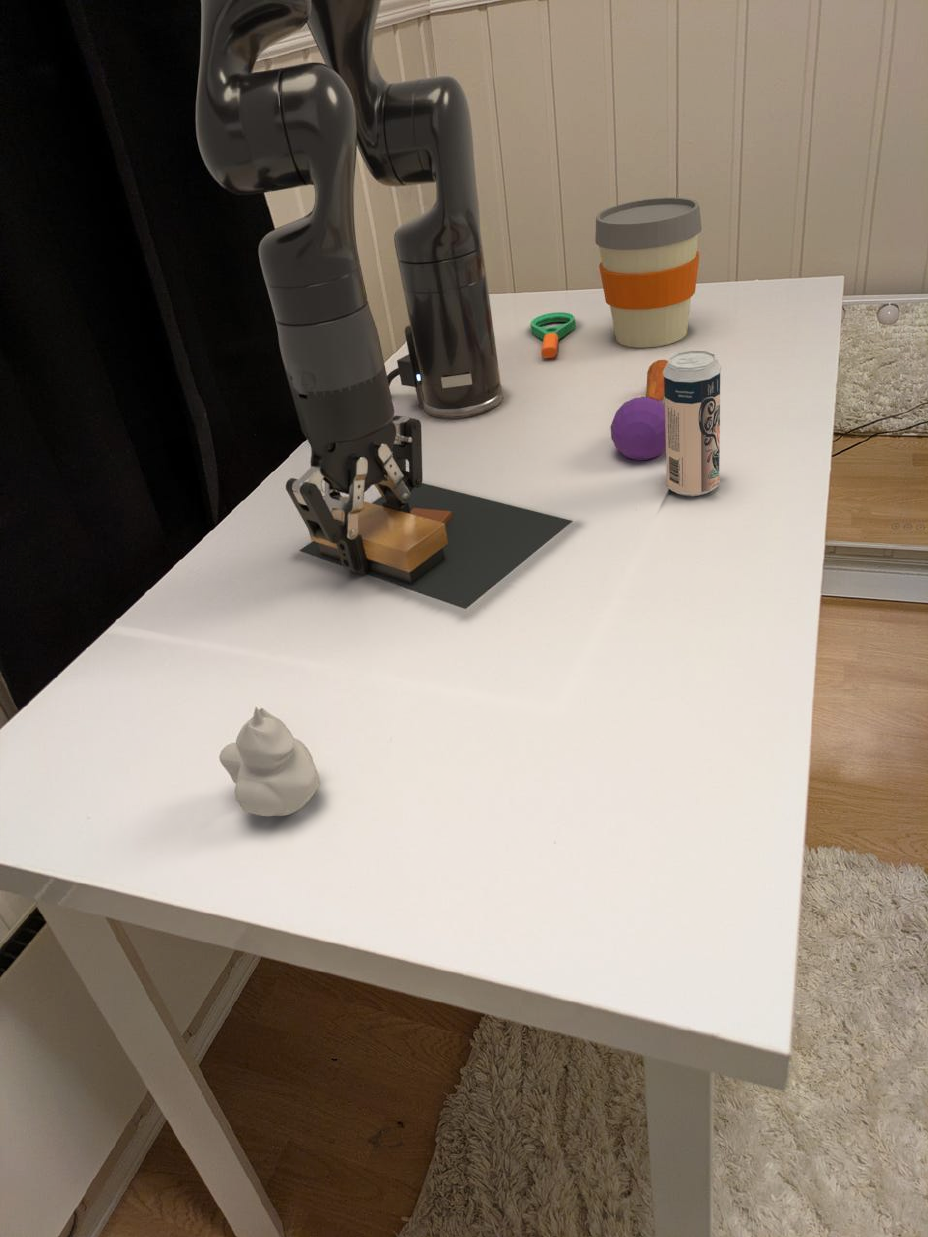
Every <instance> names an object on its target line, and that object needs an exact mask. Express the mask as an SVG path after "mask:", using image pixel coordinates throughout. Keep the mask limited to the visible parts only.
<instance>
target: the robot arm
mask: <svg viewBox="0 0 928 1237" xmlns="http://www.w3.org/2000/svg"><path fill="white" fill-rule="evenodd" d="M381 1H382V0H200V4H201V5H200V6H201V7H200V8H201V22H200V25H201V26H200V52H199V53H200V54H199V66H198V67H199V68H198V78H197V88H196V100H195V132H196V139H197V145H198V149H199V153H200V155H201V156H200V157H201V158H202V161H203V163H204V166H205V167H206V169H207V171H208V172H209V174H210V175H211V177H212V178H213V179H214V180H215V182H216V183H217V184H218V185H219V186H220V187H221V188H223V189H224V190H226V191H227V192H228V193H231V194H233V195H237V196H253V195H259V194H264V193H265V194H266V193H271V192H277V191H283V190H288V189H295V188H301V187H307V186H313V188H314V197H315V198H314V204H313V207H312V210H311V211H310V212H309V213H307V214H306V215H304V216H303V217H300V218H298V219H296V220H293V221H291V222H288V223H286V224H284V225H281V226H279V227H276V228H274V229H272V230H271V231H269V232H267V233H266V234H265V235H264V236H263V237H262V238H261V240H260V242H259V244H258V250H257V252H258V257H259V259H258V260H259V264H260V268H261V272H262V276H263V280H264V283H265V287H266V291H267V295H268V298H269V302H270V306H271V310H272V312H273V317H274V319H275V326H276V330H277V338H278V345H279V351H280V355H281V359H282V362H283V367H284V370H285V374H286V378H287V382H288V385H289V388H290V393H291V396H292V400H293V403H294V407H295V410H296V411H295V412H296V414H297V418H298V422H299V425H300V430H301V432H302V434H303V435H304V437H305V439H306V440H307V442H308V443H309V446H310V450H311V452H310V453H311V455H310V468H309V469H308V470H307V471H305V473H304V474H303V475H302V476H301V477H299V478H295V477H290V478H289V479H288V480H287V481H286V483H285V490H286V492H287V493H288V496H289V498H290V500H291V501H292V503H293V505H294V506H295V508H296V510H297V512H298V514H299V515H300V517H301V519H302V521H303V522H304V524H305V527H306V528H307V530H308V532H309V531H310V533H311V535H312V536H313V537H316V538H320V539H323V540H327V541H329V542H331V543H334V544H336V545H337V549H338V552H339V556H340V560H341V564H342V565H343V566H342V567H343V568H344V569H346V570H348V571H349V572H352V573H355V574H358V575H360V576H363V575H366V574H365V573H366V572H367V571H369V564H368V560H367V558H366V554H365V550H364V546H363V542H362V536H361V535H360V534H358V528H359V512H360V511H362V510H363V508H364V501H365V493H366V492H367V491H368V490H369V489H370V488H371V487H372V486H375V489H377V491H378V493H379V495H380V497H383V498H385V499H386V501H384V502H383V503H382V504H383V507H387V508H390V509H394V510H398V511H401V512H405V513H409V514H411V513H410V509H409V504H408V501H409V500H410V492H411V491H412V490H413V488H414V487H415V488H418V487H420V486H421V484H422V483H423V478H424V477H423V449H422V448H423V444H422V443H423V441H422V439H423V438H422V437H423V436H422V422H421V420H420V419H418V418H414V417H413V418H412V417H406V416H402V415H395V408H394V403H393V397H392V393H391V388H390V386H391V384H392V382H393V380H394V379H395V378H396V377H398V376H399V378H400V379H399V380H400V384H401V386H405V387H412V388H415V393H416V399H417V403H418V404H417V405H418V407H419V408H423V409H424V411H425V412H426V413H427V414H429V415H430V416H433V417H436V418H444V419H457V418H458V419H459V418H466V417H471V416H476V415H479V414H482V413H485V412H487V411H490V410H491V409H493V408H495V407H496V406H498V405H499V404H500V403H501V402H502V400H503V398H504V393H503V385H502V384H501V376H500V368H499V360H498V351H497V344H496V337H495V330H494V322H493V315H492V308H491V306H492V305H491V300H490V291H489V285H488V278H487V272H486V271H487V270H486V262H485V255H484V248H483V247H484V246H483V240H482V234H481V219H480V218H481V216H480V203H479V195H478V186H477V174H476V165H475V152H474V151H475V149H474V136H473V128H472V118H471V113H470V112H471V111H470V106H469V103H468V99H467V97H466V93H465V91H464V89H463V86H462V85H461V84H460V82H459V81H458V80H457V79H456V78H454V76H453V77H452V76H450V75H441V76H440V75H439V76H431V77H425V78H418V79H412V80H406V81H399V82H393V83H392V82H391V83H390V82H387V81H386V80H385V78H384V77H383V75H382V74H381V72H380V69H379V67H378V63H377V61H376V58H375V52H374V38H375V30H376V25H377V24H376V23H377V19H378V15H379V10H380V6H381ZM305 25H307V27H308V29H309V31H310V34H311V35H312V38H313V40H314V42H315V44H316V47H317V49H318V51H319V54H320V55H321V57H322V60H323V62H324V63H323V62H314V61H313V62H303V63H299V64H298V63H297V64H293V65H287V66H284V67H278V68H273V69H266V70H260V71H255V72H254V69H255V66H256V63H257V61H258V59H259V57H260V55H261V54H262V53H263V52H265V51H266V50H267V49H268V48H270V47H272V46H273V45H276V44H277V43H279V42H282V41H283V40H285V39H286V38H289V37H290V36H292V35H294V34H296V33H297V32H299V31H300V30H301V29H302V28H303V27H304V26H305ZM357 150H358V151H359V154H360V156H361V158H362V161H363V162H364V164H365V166H366V168H367V170H368V172H369V174H370V175H371V176H372V177H373V178H374V179H375V181H377V182H378V183H379V184H381V185H383V186H386V187H393V188H395V187H398V188H399V187H407V186H408V187H409V186H418V185H427V184H435V188H436V189H435V190H436V199H435V202H434V204H433V205H432V206H430V208H428V210H426V211H425V212H423V213H421V214H419V215H418V216H415V217H414V218H412V219H410V220H408V221H407V222H404V223H403V224H401V225H400V226H399V227H398V228H397V229H396V230H395V232H394V236H393V241H394V248H395V254H396V258H397V264H398V269H399V274H400V280H401V285H402V290H403V295H404V300H405V305H406V311H407V316H408V323H409V324H407V325H406V326H405V327H404V335H405V336H404V337H405V341H406V346H407V352H408V354H406V355H405V356H403V357H400V358H398V359H397V360H396V363H397V364H396V365H397V368H395V369H393V370H392V371H390V372H389V373H387V370H386V365H385V359H384V355H383V350H382V345H381V341H380V336H379V331H378V328H377V324H376V323H375V319H374V316H373V314H372V311H371V308H370V305H369V301H368V294H367V288H366V285H365V280H364V276H363V270H362V266H361V262H360V256H359V250H358V245H357V244H358V243H357V237H356V224H355V176H356V163H357ZM407 462H408V471H407ZM323 481H324V489H323ZM341 493H342V494H346V495H348V497H349V498H345V496H343V495H342V494H341ZM343 511H344V514H345V516H344V522H343V521H342V515H343Z"/></svg>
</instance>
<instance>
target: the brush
mask: <svg viewBox="0 0 928 1237" xmlns="http://www.w3.org/2000/svg"><path fill="white" fill-rule="evenodd" d="M344 497H345V498H349V496H346V495H344ZM344 516H345V514H344V511H343V515H342V521H343V522H344ZM308 533H309V537H310V540H311V542H313V541H315V542H318V545H319V549H320V552H321V554H323V555H326V556H328V557H331V558H334V559H337V560H340V556H339V552H338V549H337V545H336V544H334V543H331V542H329V541H327V540H323V539H320V538H316V537H313V536H312V535H311V533H310V531H309V530H308ZM358 534H360V535H361V536H362V542H363V546H364V550H365V554H366V558H367V560H368V564H369V570H370V571H373V572H376V573H379V574H382V575H385V576H388V577H391V578H394V579H397V580H400V581H403V582H406V583H409V584H413V583H415V582H416V581H417V580H418V579H420V578H421V577H422V576H424V575H425V574H426V573H428V572H429V571H430V570H431V569H433V568H434V567H435V566H437V565H438V564H439V563H441V562H442V561H443V560H445V555H444V550H443V547H444V546H446V545H447V544H448V539H447V534H446V529H445V524H444V523H441V522H438V521H434V520H430V519H427V518H423V517H420V516H416V515H412V514H409V513H405V512H401V511H398V510H394V509H390V508H387V507H383V506H380V505H376V504H372V502H368V501H365V500H364V508H363V510H362V511H360V512H359V528H358ZM340 561H341V560H340Z"/></svg>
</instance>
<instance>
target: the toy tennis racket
mask: <svg viewBox="0 0 928 1237" xmlns="http://www.w3.org/2000/svg"><path fill="white" fill-rule="evenodd" d="M557 322H558V323H559V322H561V323H562V322H565V323H563V324H560V325H555V326H542V325H545V324H550V323H557ZM576 324H577V323H576V316H575V315H574V314H572V313H570V312H565V311H560V312H550V313H545V314H541V315H538V316H536V317H535V318H533V319H532V320H531V321H530V330H531V333H532V334H533V335H534V336H536V337H537V338H539V339H541V341H542V346H541V352H540V354H541V356H542V357H543V358H544V359H551V358H552V359H553V358H554V357H556V355H557V352H558V345H559V340H561V339H562V338H563V337H565V336H566V335H568V334H569V333H571V332H572V331H574V329H576Z"/></svg>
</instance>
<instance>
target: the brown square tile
mask: <svg viewBox="0 0 928 1237" xmlns="http://www.w3.org/2000/svg"><path fill="white" fill-rule="evenodd" d="M410 513H411V514H412V515H416V516H420V517H423V518H427V519H430V520H434V521H438V522H441V523H444V524H445V525H446V524H447V522H448V521H449V520H450V519H451V518H452V512H451V511H442V510H430V509H419V508H413V509H412V510H411V511H410Z"/></svg>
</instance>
